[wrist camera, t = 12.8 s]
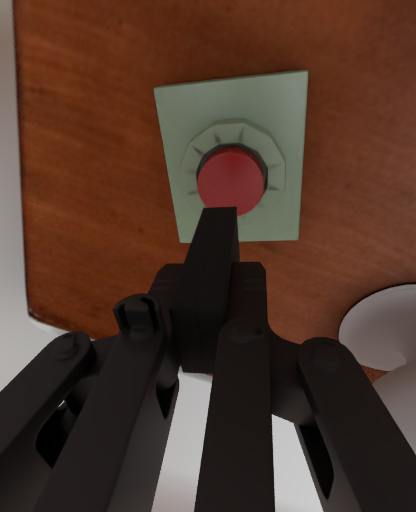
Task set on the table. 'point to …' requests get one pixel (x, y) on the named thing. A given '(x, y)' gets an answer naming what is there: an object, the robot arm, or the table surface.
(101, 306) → the table surface
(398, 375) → the chalice
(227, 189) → the button
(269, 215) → the control block
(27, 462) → the robot arm
